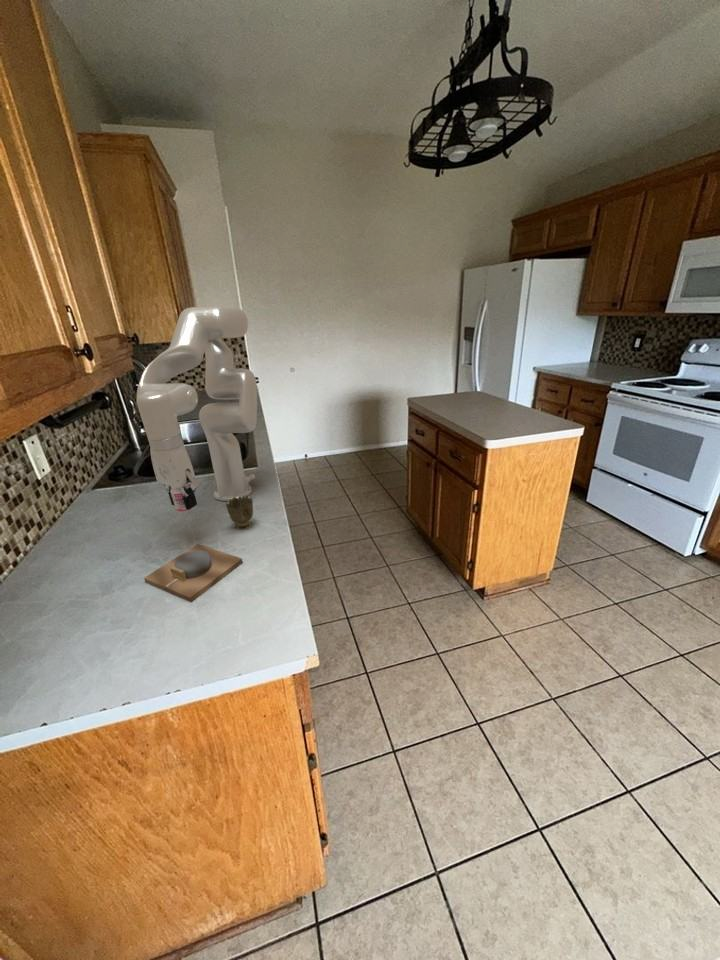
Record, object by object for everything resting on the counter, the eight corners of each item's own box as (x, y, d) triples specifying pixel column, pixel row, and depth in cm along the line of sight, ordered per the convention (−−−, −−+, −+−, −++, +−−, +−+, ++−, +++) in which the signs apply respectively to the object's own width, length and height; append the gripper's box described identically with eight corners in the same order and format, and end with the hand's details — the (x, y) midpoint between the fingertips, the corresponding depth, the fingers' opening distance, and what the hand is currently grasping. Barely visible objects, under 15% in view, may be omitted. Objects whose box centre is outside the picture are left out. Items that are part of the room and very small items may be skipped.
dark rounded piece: (249, 533, 112) (244, 508, 109) (225, 531, 114) (220, 506, 111) (260, 520, 119) (256, 496, 116) (238, 518, 121) (233, 495, 117)
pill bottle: (178, 515, 103) (170, 486, 99) (174, 508, 107) (165, 480, 103) (197, 509, 106) (189, 481, 102) (192, 502, 109) (184, 475, 105)
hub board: (198, 547, 107) (195, 535, 105) (242, 562, 100) (240, 550, 98) (145, 582, 94) (141, 569, 92) (191, 602, 87) (187, 588, 85)
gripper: (131, 442, 98) (151, 505, 107) (176, 452, 91) (195, 519, 99) (157, 432, 104) (175, 492, 112) (202, 441, 97) (217, 505, 105)
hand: (184, 504), depth 106 cm, fingers closed on pill bottle, 4 cm apart
